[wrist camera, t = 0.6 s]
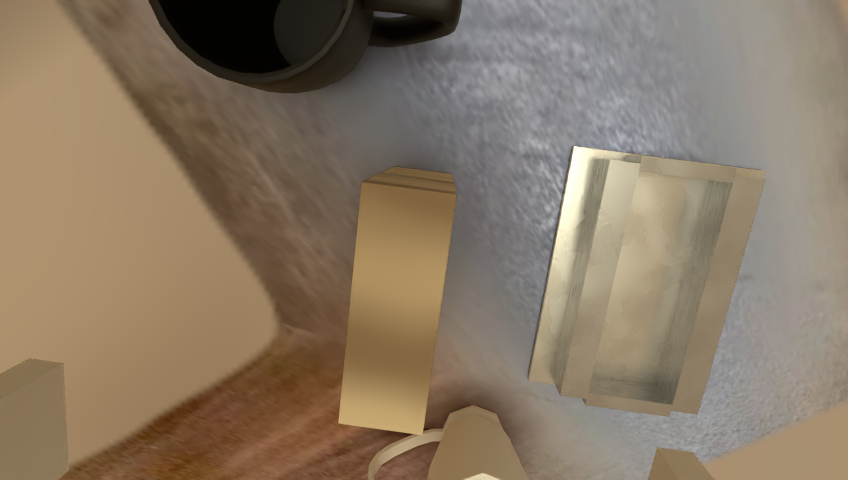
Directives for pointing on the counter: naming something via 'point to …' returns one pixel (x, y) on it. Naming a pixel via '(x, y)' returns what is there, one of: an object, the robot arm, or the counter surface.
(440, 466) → the cup
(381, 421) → the wooden block
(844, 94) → the counter surface
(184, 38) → the mug
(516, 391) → the counter surface
